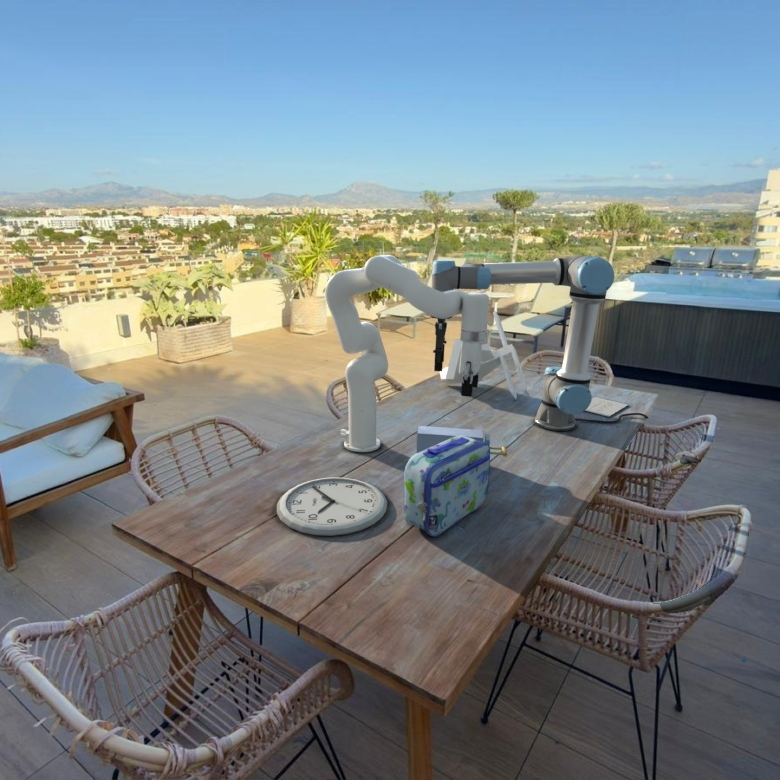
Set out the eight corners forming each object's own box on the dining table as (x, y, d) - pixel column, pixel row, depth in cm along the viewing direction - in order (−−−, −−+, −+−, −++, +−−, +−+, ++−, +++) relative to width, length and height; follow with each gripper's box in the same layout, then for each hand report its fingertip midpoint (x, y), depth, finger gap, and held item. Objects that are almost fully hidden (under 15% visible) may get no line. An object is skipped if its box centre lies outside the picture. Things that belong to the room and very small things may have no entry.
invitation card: (608, 416, 214) (573, 407, 224) (608, 416, 214) (573, 408, 224) (628, 404, 229) (594, 396, 238) (628, 405, 229) (594, 397, 238)
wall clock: (392, 527, 129) (268, 531, 127) (391, 533, 130) (269, 537, 127) (383, 473, 158) (282, 475, 155) (383, 478, 158) (282, 480, 156)
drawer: (504, 462, 169) (507, 435, 166) (505, 470, 163) (508, 441, 161) (427, 456, 172) (428, 429, 169) (426, 463, 167) (427, 435, 164)
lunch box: (429, 545, 125) (432, 466, 119) (397, 527, 132) (398, 451, 126) (492, 507, 143) (498, 436, 136) (460, 493, 150) (465, 425, 144)
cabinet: (480, 462, 170) (483, 430, 167) (481, 471, 164) (483, 438, 161) (417, 457, 173) (419, 425, 170) (416, 466, 167) (417, 433, 163)
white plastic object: (461, 429, 252) (437, 405, 227) (444, 352, 274) (420, 323, 250) (535, 404, 240) (518, 377, 215) (510, 326, 262) (492, 293, 237)
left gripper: (466, 329, 162) (462, 382, 167) (454, 340, 146) (451, 398, 151) (490, 331, 159) (486, 385, 165) (481, 342, 144) (477, 401, 149)
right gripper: (433, 301, 192) (430, 357, 198) (428, 311, 168) (426, 374, 174) (453, 301, 191) (450, 358, 197) (451, 312, 167) (448, 376, 173)
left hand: (469, 391), depth 158 cm, fingers open, 9 cm apart
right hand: (439, 366), depth 186 cm, fingers open, 13 cm apart
